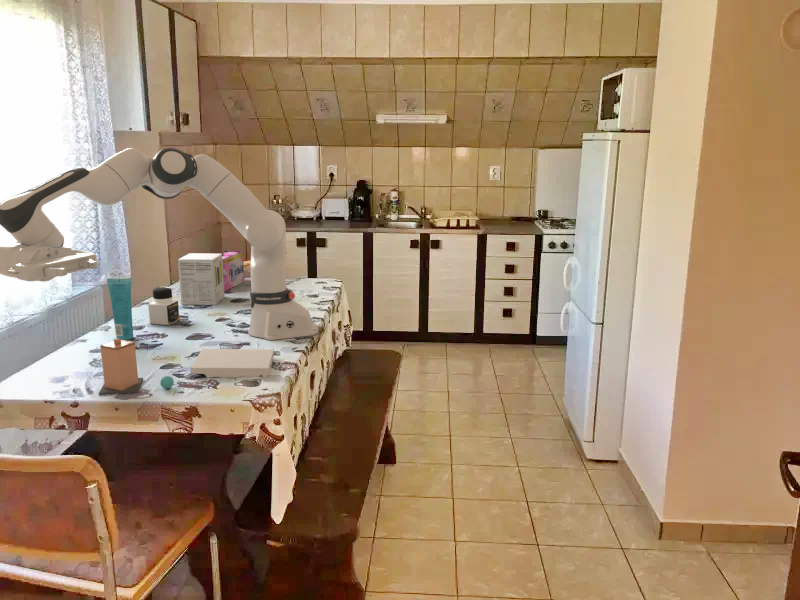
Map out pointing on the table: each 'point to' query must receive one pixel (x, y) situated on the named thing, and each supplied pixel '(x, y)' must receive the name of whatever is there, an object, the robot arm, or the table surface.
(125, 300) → the tube
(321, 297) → the table surface
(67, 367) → the table surface
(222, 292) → the supplement box
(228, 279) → the gum box
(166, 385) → the ball
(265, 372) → the cream flat block
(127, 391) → the mat
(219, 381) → the table surface
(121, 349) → the tan box with knob
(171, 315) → the medicine bottle
